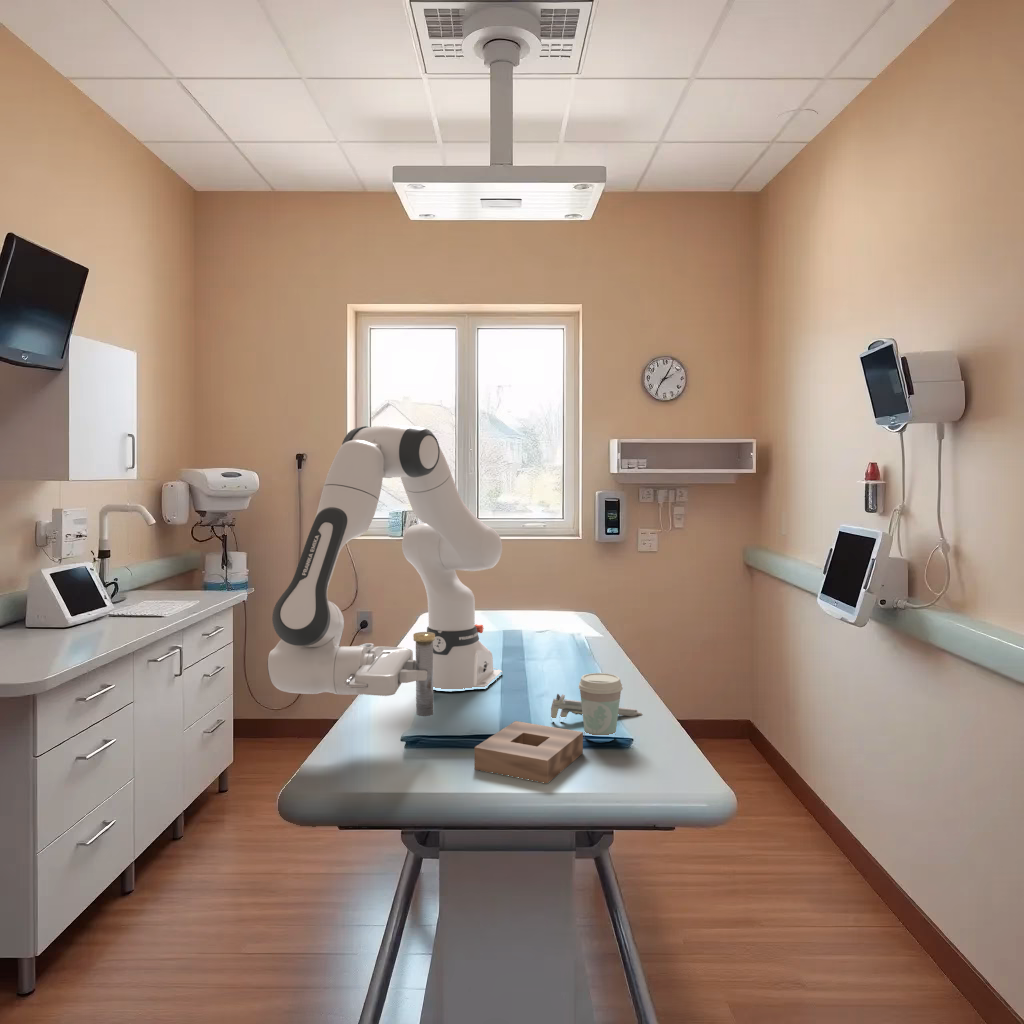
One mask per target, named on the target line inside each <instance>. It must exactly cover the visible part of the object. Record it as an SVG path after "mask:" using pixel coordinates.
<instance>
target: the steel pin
mask: <svg viewBox="0 0 1024 1024" xmlns="http://www.w3.org/2000/svg"><path fill="white" fill-rule="evenodd" d="M412 636H413V638H412V639H413V641H414V642H415V660H416V670H418V669H427V670H428V677H427V679H426V680H425V681H418V680H417V681H415V701H416V702H415V705H416V706H415V712H416V716H419V717H430V716H432V715H434V691H433V641H434V640H435V633H432V632H427V631H419V632H415V633H413V635H412Z"/></svg>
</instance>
